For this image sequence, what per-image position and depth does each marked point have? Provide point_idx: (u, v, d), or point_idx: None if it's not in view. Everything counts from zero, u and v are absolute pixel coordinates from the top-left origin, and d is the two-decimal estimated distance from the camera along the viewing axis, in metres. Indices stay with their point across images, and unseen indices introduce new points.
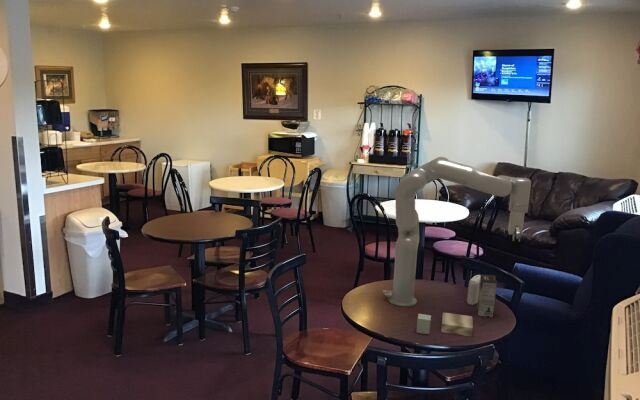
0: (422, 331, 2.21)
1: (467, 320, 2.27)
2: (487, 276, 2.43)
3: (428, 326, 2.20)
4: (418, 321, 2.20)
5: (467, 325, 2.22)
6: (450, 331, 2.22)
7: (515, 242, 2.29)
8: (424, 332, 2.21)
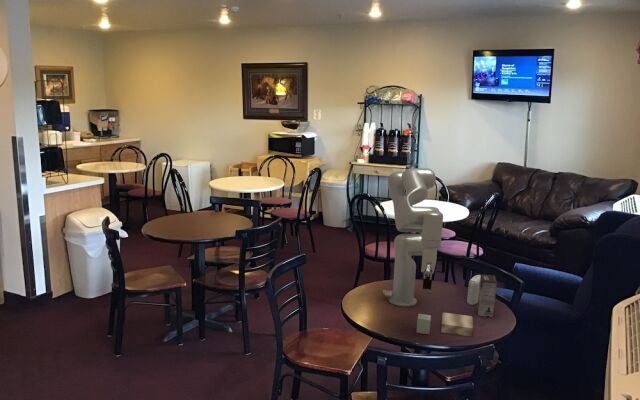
0: (422, 331, 2.21)
1: (467, 320, 2.27)
2: (487, 276, 2.43)
3: (428, 326, 2.20)
4: (418, 321, 2.20)
5: (467, 325, 2.22)
6: (450, 331, 2.22)
7: (426, 280, 2.13)
8: (424, 332, 2.21)
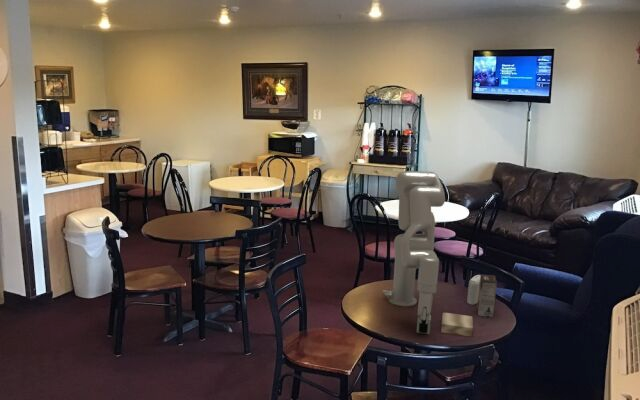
0: None
1: (467, 320, 2.27)
2: (487, 276, 2.43)
3: (428, 326, 2.20)
4: (418, 321, 2.20)
5: (467, 325, 2.22)
6: (450, 331, 2.22)
7: (422, 325, 2.19)
8: None
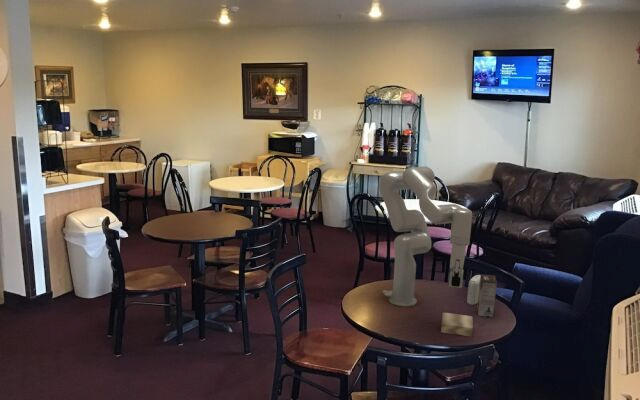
0: None
1: (467, 320, 2.27)
2: (487, 276, 2.43)
3: (461, 279, 2.19)
4: (451, 274, 2.19)
5: (467, 325, 2.22)
6: (450, 331, 2.22)
7: (455, 278, 2.18)
8: None
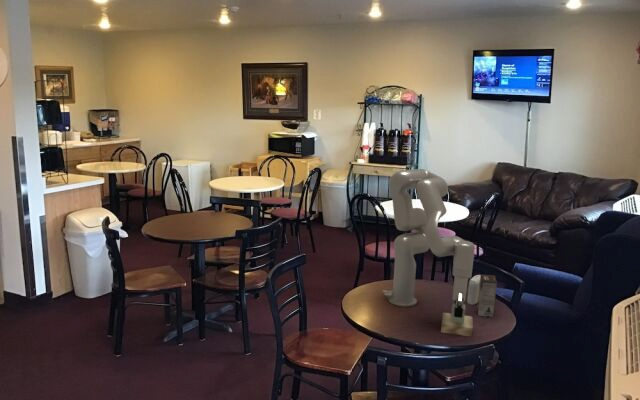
0: (457, 320, 2.24)
1: (467, 320, 2.27)
2: (487, 276, 2.43)
3: (463, 315, 2.23)
4: (453, 310, 2.23)
5: (467, 325, 2.22)
6: (450, 331, 2.22)
7: (458, 309, 2.20)
8: (459, 321, 2.24)
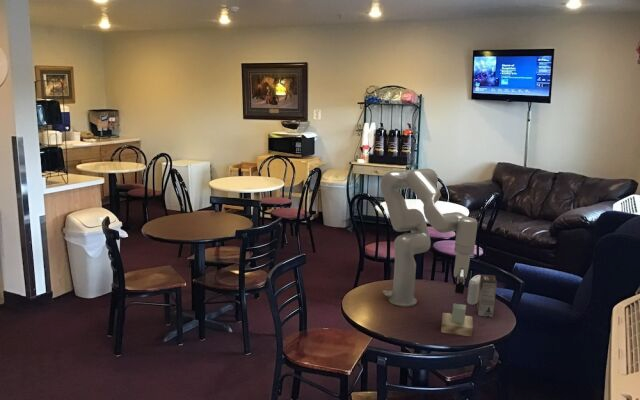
0: (457, 320, 2.24)
1: (467, 320, 2.27)
2: (487, 276, 2.43)
3: (463, 315, 2.23)
4: (453, 310, 2.23)
5: (467, 325, 2.22)
6: (449, 331, 2.22)
7: (459, 285, 2.18)
8: (459, 321, 2.23)
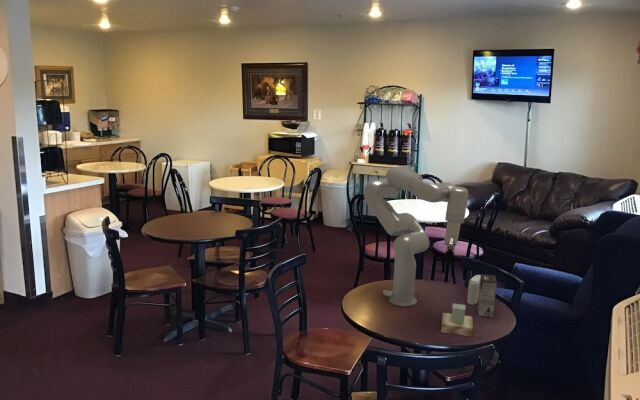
0: (457, 320, 2.24)
1: (467, 320, 2.27)
2: (487, 276, 2.43)
3: (463, 315, 2.23)
4: (453, 310, 2.23)
5: (467, 325, 2.22)
6: (449, 331, 2.22)
7: (449, 253, 2.24)
8: (459, 321, 2.23)
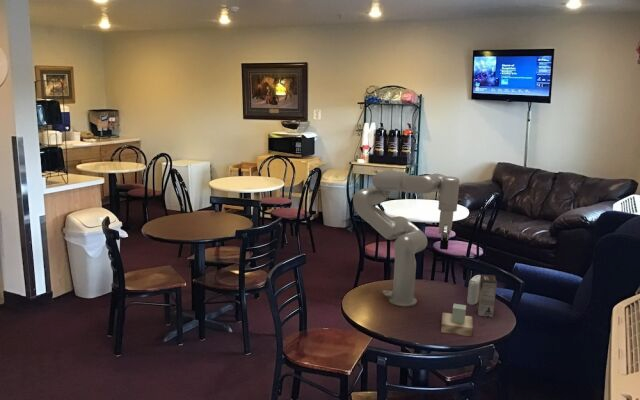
0: (457, 320, 2.23)
1: (467, 320, 2.27)
2: (487, 276, 2.43)
3: (463, 316, 2.22)
4: (453, 310, 2.23)
5: (467, 325, 2.22)
6: (449, 331, 2.22)
7: (443, 241, 2.29)
8: (459, 321, 2.23)
